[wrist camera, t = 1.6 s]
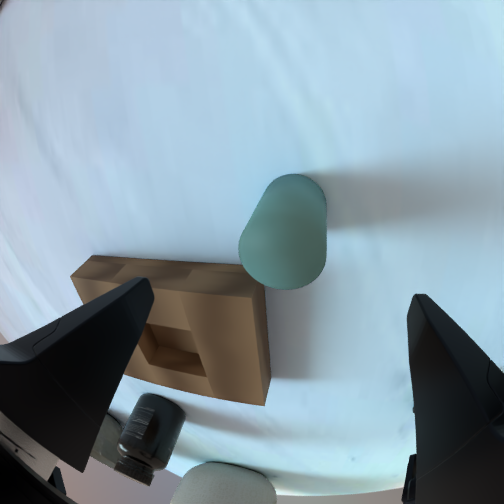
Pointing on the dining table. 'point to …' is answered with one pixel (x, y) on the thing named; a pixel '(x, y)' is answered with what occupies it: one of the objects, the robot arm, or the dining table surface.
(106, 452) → the bowl
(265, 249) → the pin
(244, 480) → the planter
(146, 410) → the supplement bottle
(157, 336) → the bore block
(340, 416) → the dining table surface
